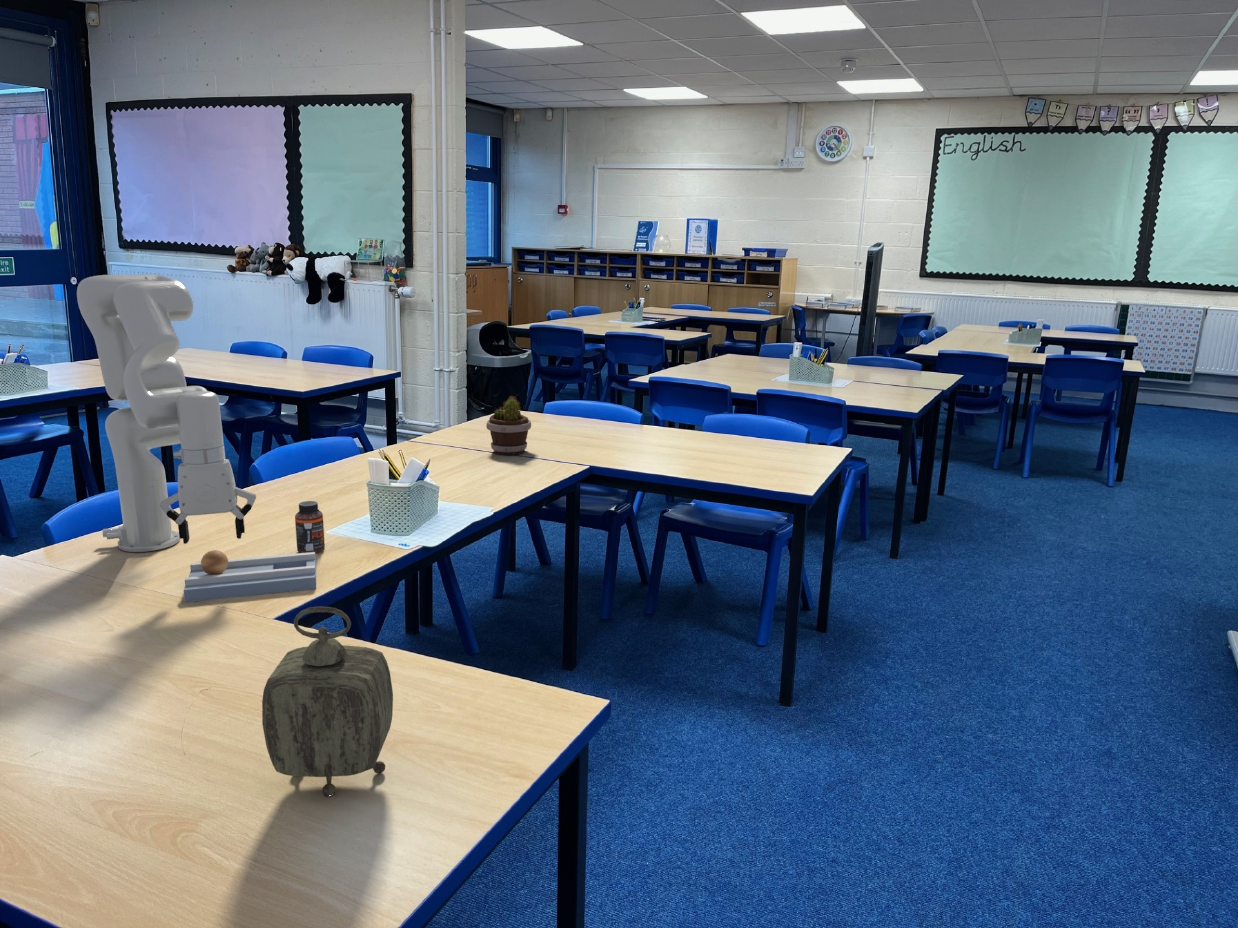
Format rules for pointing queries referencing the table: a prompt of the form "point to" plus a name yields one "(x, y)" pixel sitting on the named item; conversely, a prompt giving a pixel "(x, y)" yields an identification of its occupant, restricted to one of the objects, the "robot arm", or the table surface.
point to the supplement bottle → (309, 528)
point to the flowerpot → (509, 429)
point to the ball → (214, 562)
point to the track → (253, 577)
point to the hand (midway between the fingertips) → (213, 539)
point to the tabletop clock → (327, 707)
